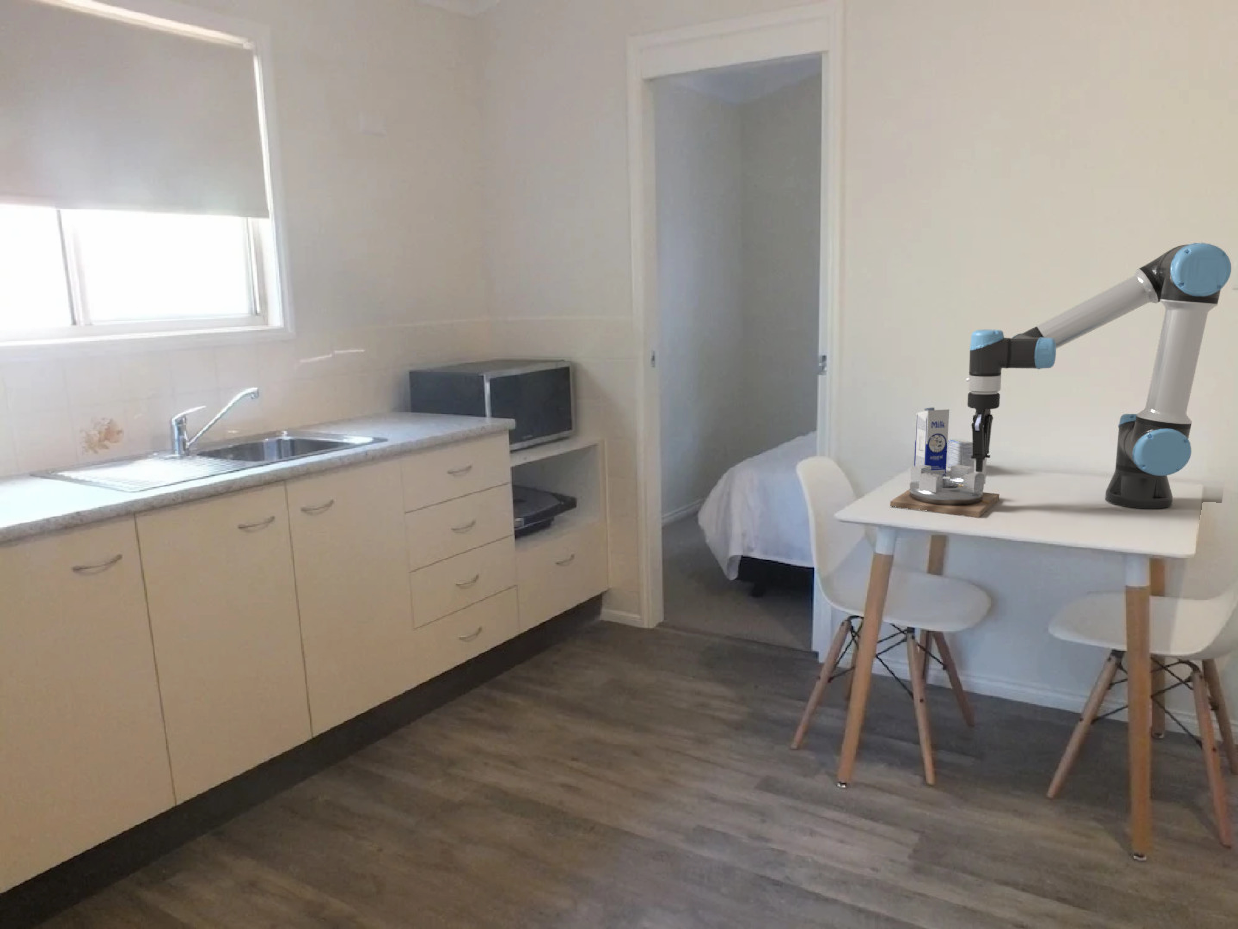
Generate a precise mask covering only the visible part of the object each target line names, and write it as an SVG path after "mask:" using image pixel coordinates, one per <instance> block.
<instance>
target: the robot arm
mask: <svg viewBox="0 0 1238 929" xmlns="http://www.w3.org/2000/svg"><path fill="white" fill-rule="evenodd" d="M1231 273H1232V263H1231V259H1230V257H1229V255H1228V254H1227V253H1226V252H1225V250H1223V249H1222V248H1220V247H1219V246H1217V245H1215V244H1211V243H1206V242H1193V243H1190V244H1189V243H1188V244H1183V245H1178V246H1175V247H1173V248H1170V249H1169V250H1166V252H1164V253H1162V254H1161V255H1160V256H1158V257H1157V258H1154V260H1152V261H1150V262H1148V263H1146V264H1145V265H1143V266H1141V267H1140V268H1137V269H1136V271H1135V273H1134V275H1133V276H1131V277H1128V278H1127V279H1124V280H1123V281H1121V282H1119V283H1117V284H1114V285H1113V286H1112V287H1110V288H1108V289H1105V290H1103V291H1102V292H1100V293H1098V294H1096V295H1094V296H1092V297H1089V298H1088V299H1087V300H1084V301H1083V302H1080V303H1078V304H1076V305H1075V306H1073V307H1071V308H1069V309H1066V310H1065V311H1063V312H1062V313H1059V314H1057V315H1055V316H1054V317H1052V318H1049V319H1047V320H1045V321H1043V322H1042V323H1040V324H1038V325H1036V326H1034V327H1033V328H1031V329H1028V330H1026V331H1025V332H1022V333H1018V334H1016V335H1013V336H1012V337H1005V334H1004V332H1003V330H1001V329H977V330H974V331H973V332H972V334H971V336H970V346H969V364H968V366H969V368H968V369H969V370H968V378H967V377H966V382H968V388H967V389H968V391H969V392H968V393H967V407H968V408H969V409H975V414H974V415H973V416H972V423H971V425H970V426H971V431H972V435H971V437H972V442H973V455H972V456H971V458H972V459H974V470H973V473H979V474H984V485H985V484H986V482H987V481H986V478H987V477H986V476H987V460H988V459H990V458H991V455H990V454H989V453H990V444H991V434H992V433H991V432H992V425H993V420H994V417H993V414H992V413H991V410H993V409H998V408H999V407H1000V405H1001V404H1000V399H1001V394H1000V391H1001V388H1002V369H1037V370H1041V369H1051V368H1053V367H1054V365H1055V362H1056V355H1057V349H1058V348H1060V347H1062V346H1064V345H1066V344H1067V345H1068V344H1069V343H1071V342H1073V341H1074V340H1076V339H1079V338H1080V337H1083V336H1085V335H1086V334H1089V333H1091V332H1092V331H1094V330H1097V329H1098V328H1101V327H1103V326H1104V325H1107V324H1108V323H1111V322H1113V321H1115V320H1117V319H1119V318H1121V317H1122V316H1124V315H1127V314H1128V313H1130V312H1132V311H1134V310H1137V309H1139V308H1141V307H1143V306H1144V305H1147V304H1149V303H1152V304H1158V303H1161V304H1162V305H1163V306H1164V308H1165V310H1164V316H1163V321H1162V326H1161V330H1160V334H1159V335H1160V336H1159V340H1158V344H1157V349H1156V354H1155V355H1156V356H1155V359H1154V364H1153V368H1152V374H1151V380H1150V384H1149V388H1148V394H1147V397H1146V398H1147V399H1146V402H1145V403H1146V404H1145V408H1144V409H1143V410H1141V411H1140V412H1138V413H1124V414H1122V415H1121V416H1120V418H1119V423H1118V426H1117V427H1118V432H1117V434H1118V435H1117V447H1116V459H1115V468H1114V472H1113V474H1112V477H1111V478H1110V479H1111V480H1110V481H1109V483H1108V486H1107V488H1106V490H1105V497H1104V500H1105V501H1106V502H1108V503H1110V504H1113V505H1117V506H1122V507H1127V508H1135V509H1150V510H1151V509H1165V508H1170V507H1172V506H1173V493H1172V489H1171V486H1170V482H1169V481H1170V480H1169V479H1168V476H1169V475H1173V474H1176V473H1179V471H1181V470H1182V469H1184V467H1185V466H1186V465H1187V464H1188V463H1189V461H1190V459H1191V456H1192V447H1191V446H1192V445H1191V442H1190V440H1189V438H1190V432H1191V427H1192V423H1193V421H1192V419H1191V418H1190V417H1189V416H1188V415H1187V411H1188V406H1189V401H1190V396H1191V393H1192V389H1193V388H1192V387H1193V384H1194V378H1195V375H1196V370H1197V365H1198V360H1199V355H1200V352H1201V345H1202V342H1203V338H1204V337H1203V336H1204V333H1205V328H1206V323H1207V318H1208V315H1209V312H1210V311H1211V310H1213V309H1214V308H1216V307H1218V304H1219V299H1220V295H1221V290H1222V289H1223V288H1224V287H1225V285H1226V284H1227V283H1228V281H1229V279H1230V277H1231Z"/></svg>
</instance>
